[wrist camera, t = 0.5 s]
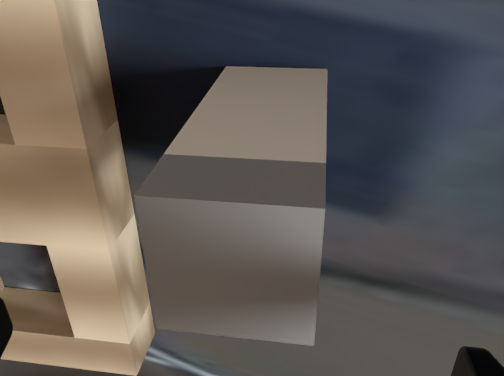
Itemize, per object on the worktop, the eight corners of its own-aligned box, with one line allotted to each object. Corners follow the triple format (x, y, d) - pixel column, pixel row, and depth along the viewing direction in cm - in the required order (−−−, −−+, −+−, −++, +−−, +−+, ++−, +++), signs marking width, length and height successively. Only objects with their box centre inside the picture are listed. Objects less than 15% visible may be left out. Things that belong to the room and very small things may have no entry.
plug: (320, 160, 20) (314, 345, 11) (230, 155, 20) (156, 328, 12) (327, 69, 17) (325, 209, 9) (226, 66, 18) (133, 195, 10)
